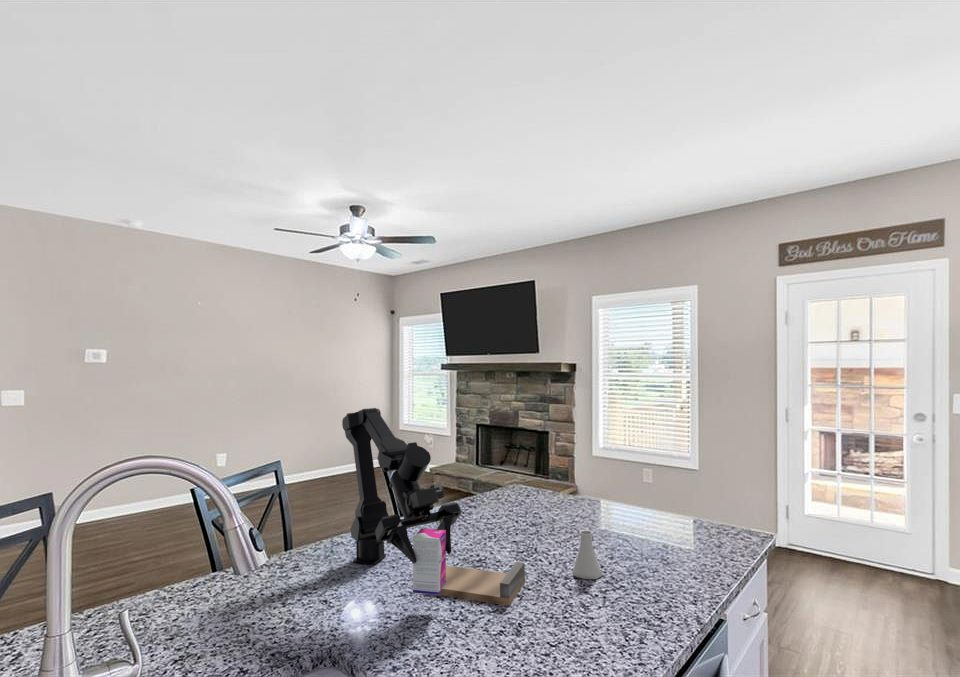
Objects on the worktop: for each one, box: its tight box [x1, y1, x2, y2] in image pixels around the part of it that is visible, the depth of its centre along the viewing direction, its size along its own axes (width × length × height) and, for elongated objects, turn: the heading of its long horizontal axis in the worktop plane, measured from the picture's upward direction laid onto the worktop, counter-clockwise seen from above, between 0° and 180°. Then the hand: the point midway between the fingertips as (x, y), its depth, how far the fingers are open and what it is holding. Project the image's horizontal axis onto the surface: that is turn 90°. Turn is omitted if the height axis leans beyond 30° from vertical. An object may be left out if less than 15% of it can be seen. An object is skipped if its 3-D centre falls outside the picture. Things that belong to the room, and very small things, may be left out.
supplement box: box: [412, 527, 447, 596], centre depth 109 cm, size 6×6×12 cm
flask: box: [572, 529, 603, 580], centre depth 125 cm, size 7×7×10 cm
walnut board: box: [437, 561, 526, 606], centre depth 119 cm, size 20×12×4 cm, turn 69°
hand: (432, 557), depth 108 cm, fingers closed on supplement box, 8 cm apart
